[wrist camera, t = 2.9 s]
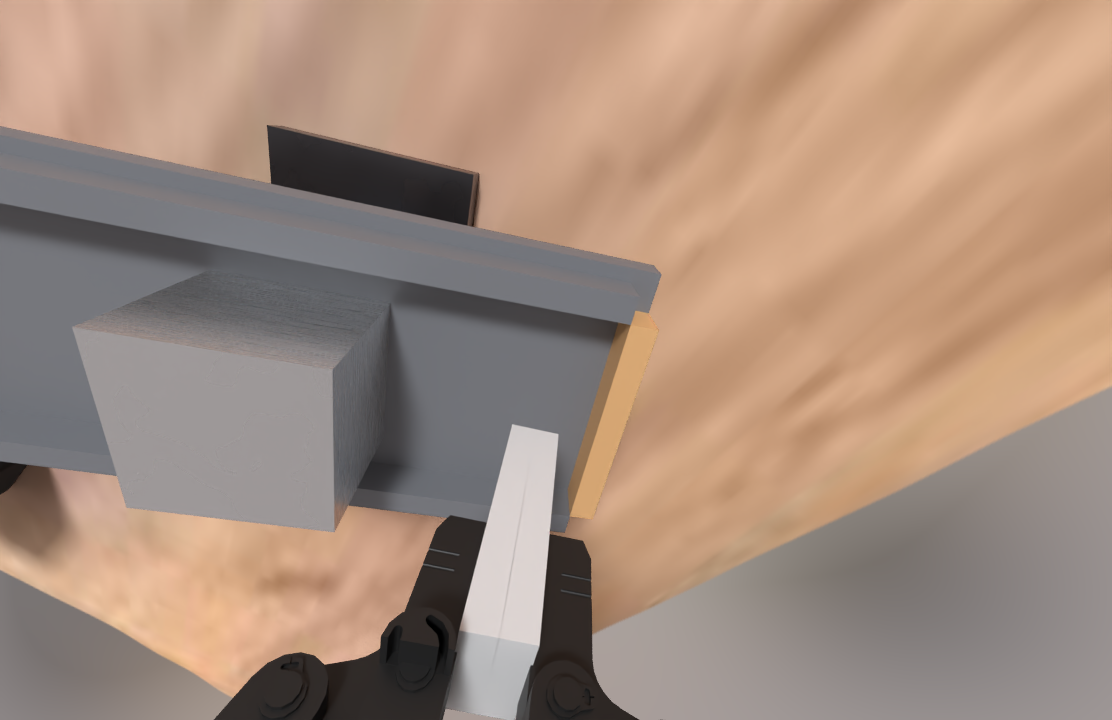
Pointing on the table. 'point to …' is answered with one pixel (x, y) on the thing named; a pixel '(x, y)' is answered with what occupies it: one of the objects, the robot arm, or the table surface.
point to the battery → (9, 474)
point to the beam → (336, 266)
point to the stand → (370, 176)
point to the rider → (240, 398)
